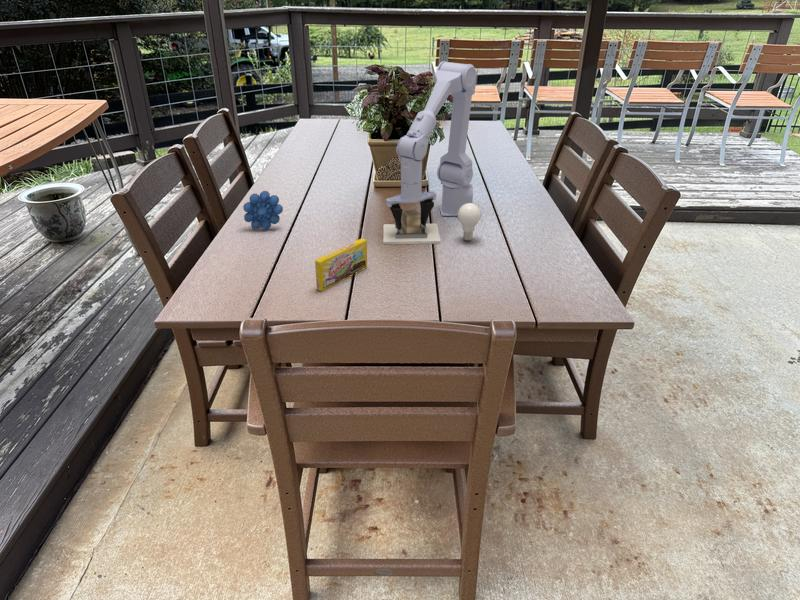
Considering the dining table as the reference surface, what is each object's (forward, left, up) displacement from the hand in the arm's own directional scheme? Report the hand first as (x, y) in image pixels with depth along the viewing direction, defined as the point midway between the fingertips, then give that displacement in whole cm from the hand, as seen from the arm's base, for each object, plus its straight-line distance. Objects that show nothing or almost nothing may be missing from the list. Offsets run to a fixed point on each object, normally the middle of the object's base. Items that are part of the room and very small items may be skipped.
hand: (411, 226), depth 157 cm
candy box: (+18, +25, -3) cm, 31 cm away
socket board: (0, 0, -3) cm, 3 cm away
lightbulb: (-16, +4, -3) cm, 17 cm away
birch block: (0, 0, -2) cm, 2 cm away
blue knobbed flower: (+43, -6, -3) cm, 44 cm away
